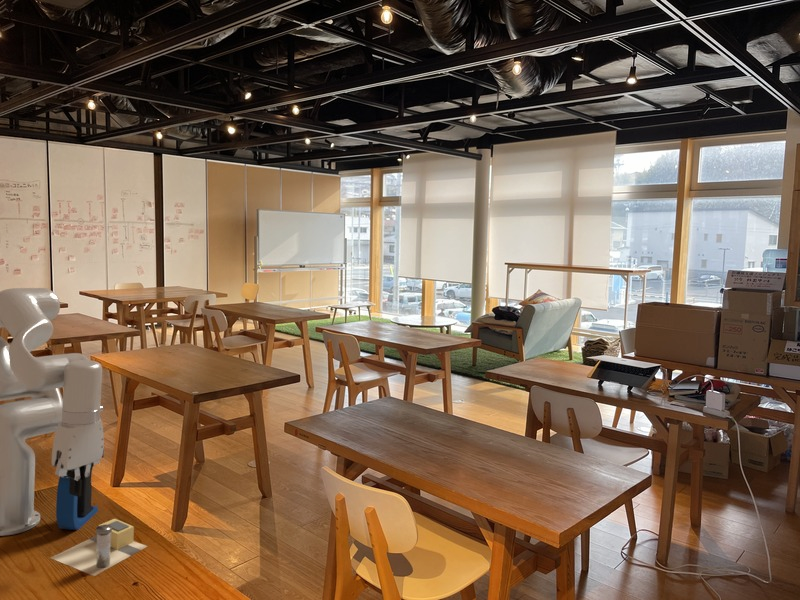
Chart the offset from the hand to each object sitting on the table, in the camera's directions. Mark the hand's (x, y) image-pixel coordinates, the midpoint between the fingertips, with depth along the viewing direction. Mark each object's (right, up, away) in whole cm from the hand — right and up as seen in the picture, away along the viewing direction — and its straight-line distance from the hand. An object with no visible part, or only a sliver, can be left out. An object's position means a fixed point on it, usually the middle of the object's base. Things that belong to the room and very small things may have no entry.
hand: (77, 493), depth 134 cm
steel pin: (+6, -16, 0) cm, 17 cm away
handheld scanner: (-10, -14, +19) cm, 26 cm away
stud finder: (+4, -15, +10) cm, 19 cm away
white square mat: (+3, -16, +5) cm, 17 cm away
